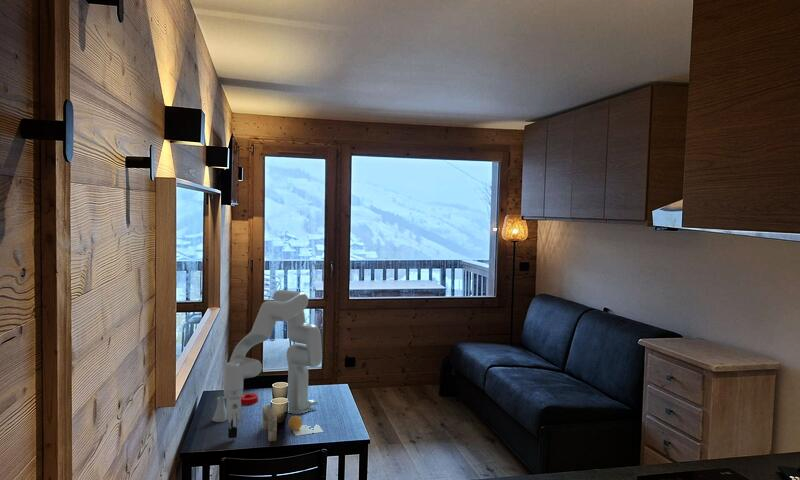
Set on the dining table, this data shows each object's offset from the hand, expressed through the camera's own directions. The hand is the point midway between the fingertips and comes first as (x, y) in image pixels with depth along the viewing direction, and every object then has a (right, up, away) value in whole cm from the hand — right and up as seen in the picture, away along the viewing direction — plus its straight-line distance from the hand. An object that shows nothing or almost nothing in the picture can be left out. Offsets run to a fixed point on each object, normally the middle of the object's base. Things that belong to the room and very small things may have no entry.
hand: (232, 437), depth 212 cm
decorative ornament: (-7, 0, +46) cm, 47 cm away
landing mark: (+28, -2, +14) cm, 31 cm away
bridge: (+13, -2, +7) cm, 15 cm away
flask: (-12, -1, +22) cm, 25 cm away
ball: (+23, +1, +13) cm, 26 cm away
